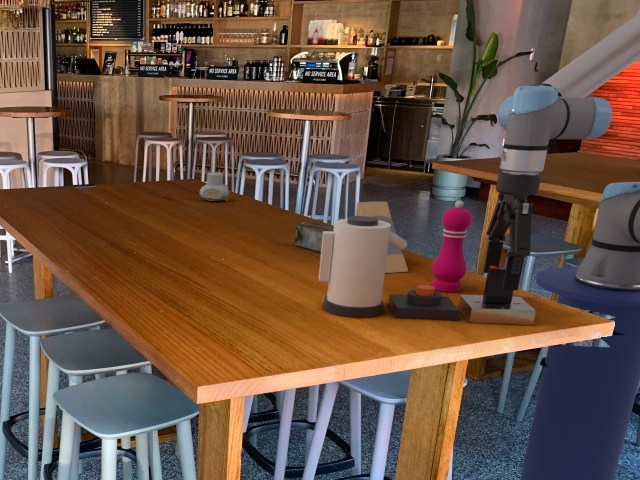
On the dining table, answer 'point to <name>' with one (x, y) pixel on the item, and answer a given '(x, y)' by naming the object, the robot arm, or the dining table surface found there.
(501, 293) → the black switch lever
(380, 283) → the kettle
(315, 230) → the beverage carton
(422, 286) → the red push button
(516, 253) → the robot arm
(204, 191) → the air freshener
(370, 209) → the sandwich container
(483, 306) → the lever switch base
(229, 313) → the dining table surface
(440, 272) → the pepper mill
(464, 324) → the dining table surface
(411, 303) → the push button box
